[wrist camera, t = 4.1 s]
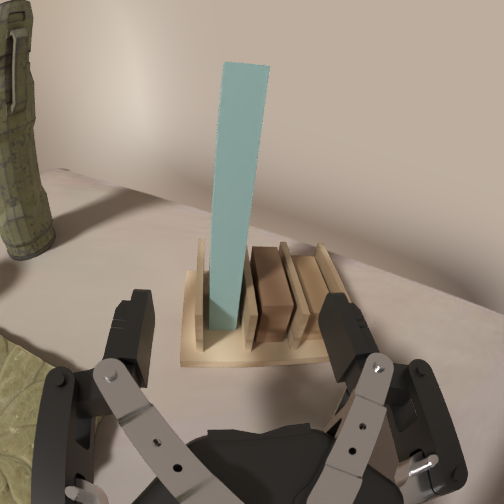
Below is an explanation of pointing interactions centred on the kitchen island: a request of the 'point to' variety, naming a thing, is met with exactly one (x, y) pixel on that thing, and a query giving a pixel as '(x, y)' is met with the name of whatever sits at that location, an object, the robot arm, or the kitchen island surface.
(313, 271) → the oak offcut
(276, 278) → the walnut offcut
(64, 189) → the kitchen island surface
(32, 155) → the thermos
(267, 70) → the teal board
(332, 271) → the beech rack
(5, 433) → the decorative tile
